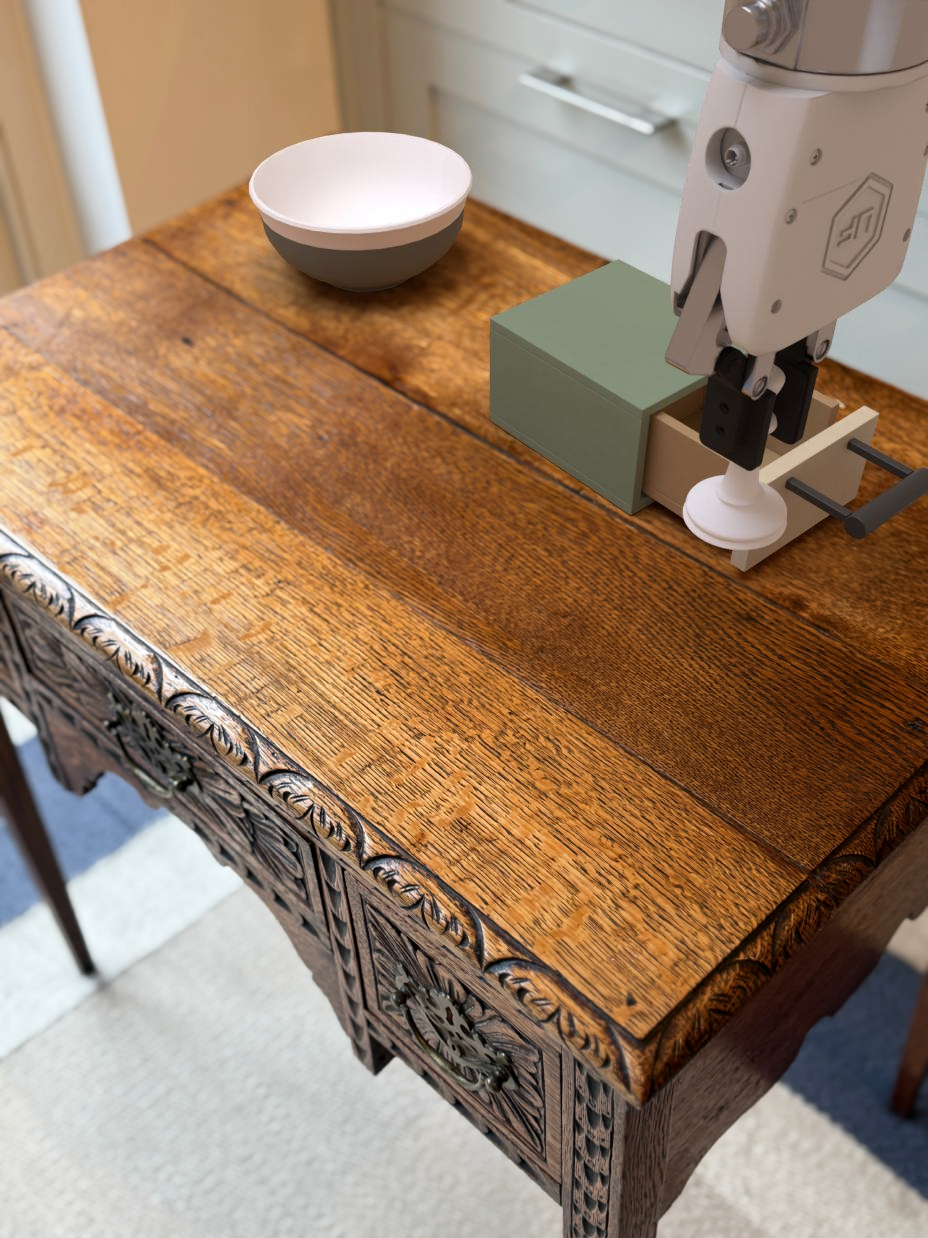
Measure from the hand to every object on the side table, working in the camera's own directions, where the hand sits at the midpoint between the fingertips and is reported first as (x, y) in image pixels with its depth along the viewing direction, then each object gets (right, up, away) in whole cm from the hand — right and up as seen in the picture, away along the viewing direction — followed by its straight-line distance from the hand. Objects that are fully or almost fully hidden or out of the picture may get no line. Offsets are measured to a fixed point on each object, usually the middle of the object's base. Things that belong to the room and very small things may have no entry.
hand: (750, 439), depth 54 cm
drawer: (+7, -1, +25) cm, 26 cm away
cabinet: (-2, +6, +33) cm, 33 cm away
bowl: (-22, +23, +51) cm, 60 cm away
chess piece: (0, -3, +3) cm, 5 cm away
